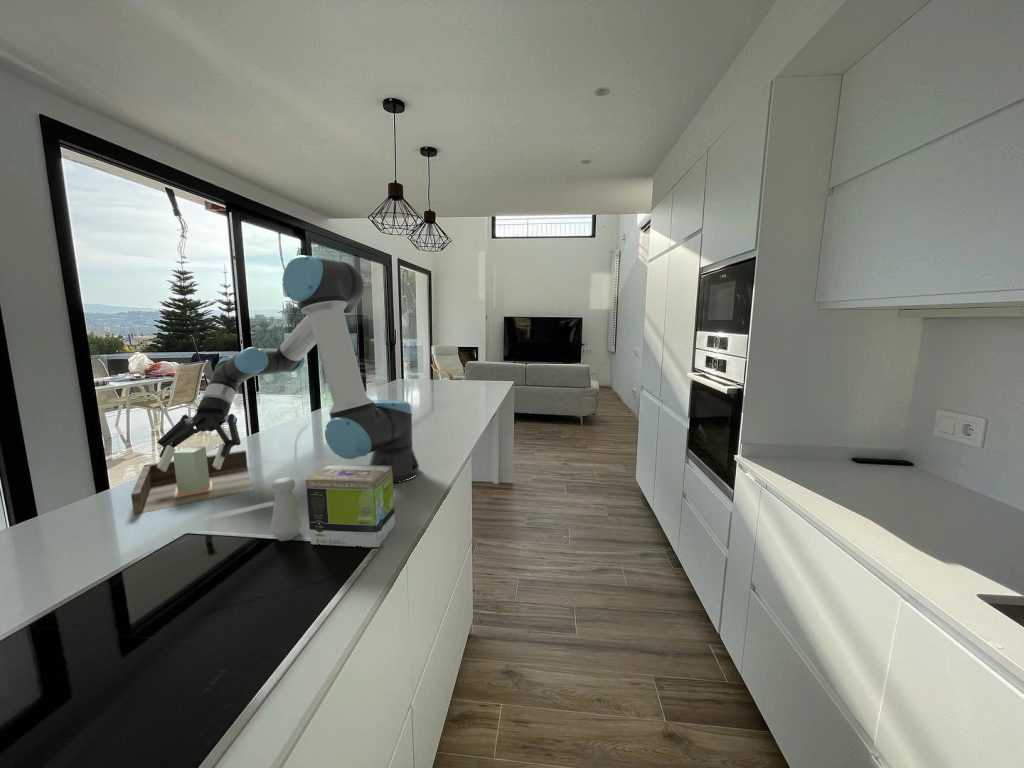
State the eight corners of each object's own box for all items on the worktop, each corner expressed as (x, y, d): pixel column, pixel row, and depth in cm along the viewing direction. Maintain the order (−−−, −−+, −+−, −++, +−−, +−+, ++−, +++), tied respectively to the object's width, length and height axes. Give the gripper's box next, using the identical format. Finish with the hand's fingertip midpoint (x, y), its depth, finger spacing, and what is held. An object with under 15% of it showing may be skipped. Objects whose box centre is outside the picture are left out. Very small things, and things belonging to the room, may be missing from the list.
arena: (253, 493, 110) (251, 472, 110) (134, 518, 96) (131, 494, 96) (247, 468, 130) (245, 450, 129) (146, 485, 116) (144, 465, 115)
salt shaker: (281, 546, 85) (276, 487, 83) (266, 538, 88) (261, 481, 86) (307, 534, 90) (303, 477, 88) (293, 527, 93) (288, 472, 91)
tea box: (396, 526, 94) (393, 464, 92) (377, 550, 84) (374, 481, 82) (334, 522, 95) (330, 461, 93) (308, 545, 85) (303, 478, 83)
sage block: (209, 484, 113) (205, 446, 112) (198, 492, 109) (193, 452, 107) (190, 485, 113) (185, 447, 111) (177, 492, 108) (172, 452, 106)
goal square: (212, 490, 110) (212, 490, 110) (173, 498, 105) (173, 497, 105) (212, 481, 116) (212, 480, 116) (175, 488, 112) (175, 487, 111)
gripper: (265, 408, 126) (244, 472, 114) (178, 410, 123) (146, 476, 111) (255, 394, 120) (232, 460, 108) (163, 396, 117) (128, 464, 105)
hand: (188, 468), depth 109 cm, fingers open, 13 cm apart
